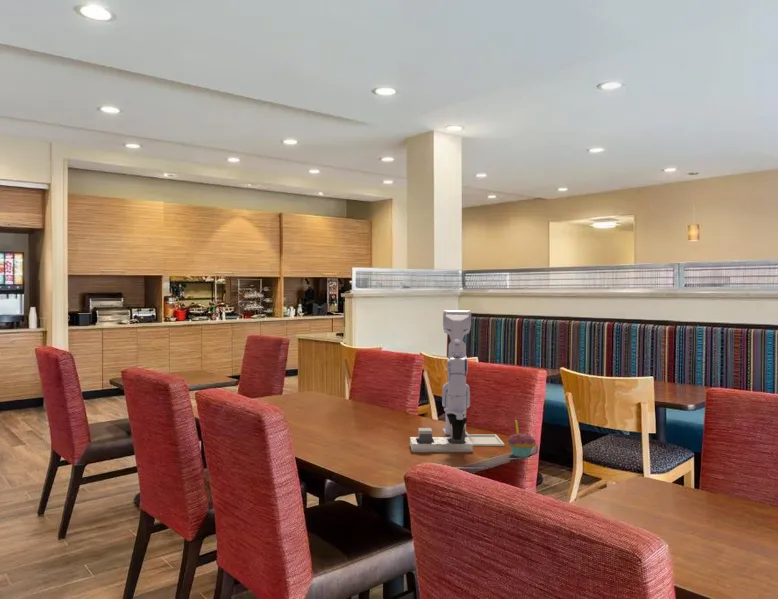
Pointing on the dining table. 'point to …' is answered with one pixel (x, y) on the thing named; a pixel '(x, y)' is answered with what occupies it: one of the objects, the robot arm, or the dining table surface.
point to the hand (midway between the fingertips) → (456, 437)
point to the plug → (457, 440)
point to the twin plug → (424, 435)
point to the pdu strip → (440, 445)
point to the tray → (485, 440)
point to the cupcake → (521, 443)
